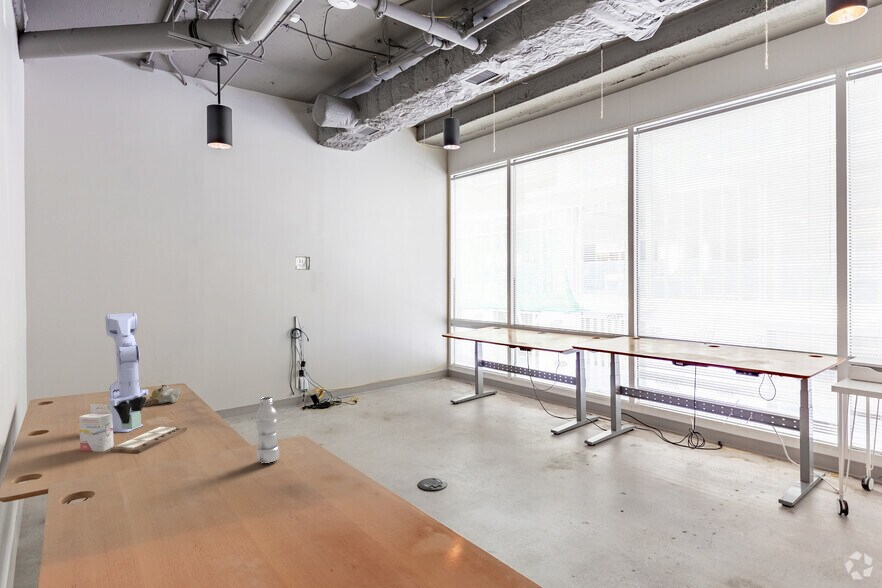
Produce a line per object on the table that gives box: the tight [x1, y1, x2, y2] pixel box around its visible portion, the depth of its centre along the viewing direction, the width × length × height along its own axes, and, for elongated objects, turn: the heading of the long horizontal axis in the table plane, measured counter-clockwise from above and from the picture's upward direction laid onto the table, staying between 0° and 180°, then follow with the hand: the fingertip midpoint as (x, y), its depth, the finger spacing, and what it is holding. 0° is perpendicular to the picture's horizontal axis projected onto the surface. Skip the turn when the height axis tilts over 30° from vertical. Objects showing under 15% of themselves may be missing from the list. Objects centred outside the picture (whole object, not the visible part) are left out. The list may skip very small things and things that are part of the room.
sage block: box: [121, 410, 142, 430], centre depth 166 cm, size 4×4×5 cm
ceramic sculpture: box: [144, 384, 181, 405], centre depth 222 cm, size 11×9×15 cm
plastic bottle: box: [255, 396, 280, 463], centre depth 151 cm, size 6×7×20 cm
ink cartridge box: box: [78, 403, 115, 453], centre depth 164 cm, size 9×5×15 cm, turn 84°
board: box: [109, 425, 188, 454], centre depth 173 cm, size 11×23×1 cm, turn 170°
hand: (130, 421), depth 166 cm, fingers closed on sage block, 4 cm apart
